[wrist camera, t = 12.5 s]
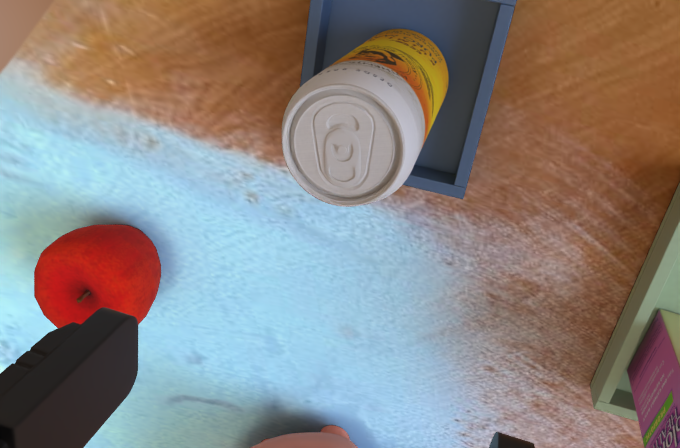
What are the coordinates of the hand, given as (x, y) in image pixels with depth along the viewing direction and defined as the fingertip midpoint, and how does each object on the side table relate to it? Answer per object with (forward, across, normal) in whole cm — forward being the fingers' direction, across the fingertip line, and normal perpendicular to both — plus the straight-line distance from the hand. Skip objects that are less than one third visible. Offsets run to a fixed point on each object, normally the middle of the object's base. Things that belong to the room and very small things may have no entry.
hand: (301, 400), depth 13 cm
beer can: (+29, +3, 0) cm, 29 cm away
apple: (+29, +22, +19) cm, 41 cm away
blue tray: (+29, +3, 0) cm, 30 cm away
